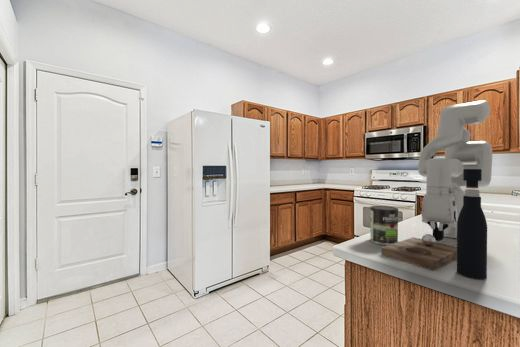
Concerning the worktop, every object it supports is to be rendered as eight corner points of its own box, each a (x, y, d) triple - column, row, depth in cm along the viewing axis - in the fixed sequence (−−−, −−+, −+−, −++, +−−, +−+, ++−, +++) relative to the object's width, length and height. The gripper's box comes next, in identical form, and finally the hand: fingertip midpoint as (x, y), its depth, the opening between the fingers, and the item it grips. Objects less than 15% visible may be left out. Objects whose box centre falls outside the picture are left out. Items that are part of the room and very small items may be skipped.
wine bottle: (492, 280, 64) (494, 169, 64) (465, 278, 66) (467, 169, 65) (475, 270, 71) (477, 168, 70) (451, 269, 72) (452, 169, 71)
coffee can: (404, 244, 95) (404, 209, 95) (380, 246, 93) (380, 210, 93) (386, 237, 105) (386, 205, 105) (365, 238, 104) (365, 206, 103)
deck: (413, 243, 96) (413, 237, 96) (462, 255, 83) (462, 248, 83) (381, 254, 85) (381, 247, 84) (433, 270, 71) (433, 262, 71)
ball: (425, 242, 89) (425, 232, 89) (437, 245, 86) (437, 234, 85) (419, 244, 87) (419, 233, 87) (432, 247, 83) (432, 236, 83)
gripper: (467, 192, 85) (467, 243, 86) (421, 189, 98) (421, 234, 98) (459, 193, 81) (458, 247, 82) (412, 190, 94) (411, 237, 94)
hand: (438, 240), depth 90 cm, fingers closed
